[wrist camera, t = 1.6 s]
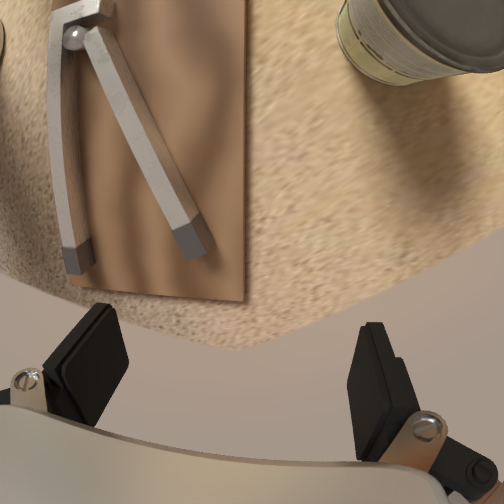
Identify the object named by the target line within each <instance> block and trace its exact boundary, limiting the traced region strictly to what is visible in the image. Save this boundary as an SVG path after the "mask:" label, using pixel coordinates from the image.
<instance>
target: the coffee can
mask: <svg viewBox="0 0 504 504" xmlns="http://www.w3.org/2000/svg"><path fill="white" fill-rule="evenodd" d="M336 33H337V38H338V41H339V44H340V46H341V48H342V50H343V52H344V54H345V55H346V57H347V59H348V60H349V61H350V62H351V63H352V64H353V65H354V66H355V67H356V68H357V69H358V70H359V71H361V72H362V73H363V74H365V75H366V76H368V77H370V78H371V79H374V80H376V81H378V82H381V83H383V84H388V85H394V86H404V85H410V84H413V83H416V82H421V81H426V80H431V79H437V78H441V77H448V76H454V75H461V74H467V73H492V72H496V71H500V70H502V69H504V0H345V2H344V3H343V4H342V6H341V8H340V10H339V12H338V15H337V19H336Z"/></svg>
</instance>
